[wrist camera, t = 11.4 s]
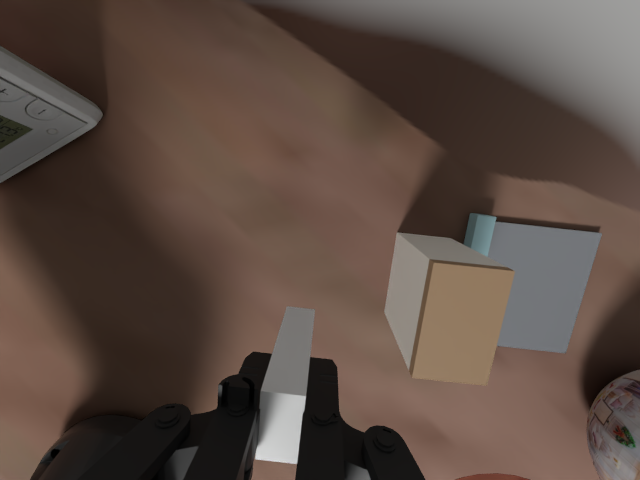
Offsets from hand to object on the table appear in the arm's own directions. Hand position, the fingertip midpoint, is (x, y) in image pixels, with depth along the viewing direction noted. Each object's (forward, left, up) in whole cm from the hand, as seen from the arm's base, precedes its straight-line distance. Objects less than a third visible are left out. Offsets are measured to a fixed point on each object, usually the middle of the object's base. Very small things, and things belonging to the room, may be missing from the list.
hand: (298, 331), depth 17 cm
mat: (+21, 0, -13) cm, 24 cm away
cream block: (+10, 0, -13) cm, 17 cm away
